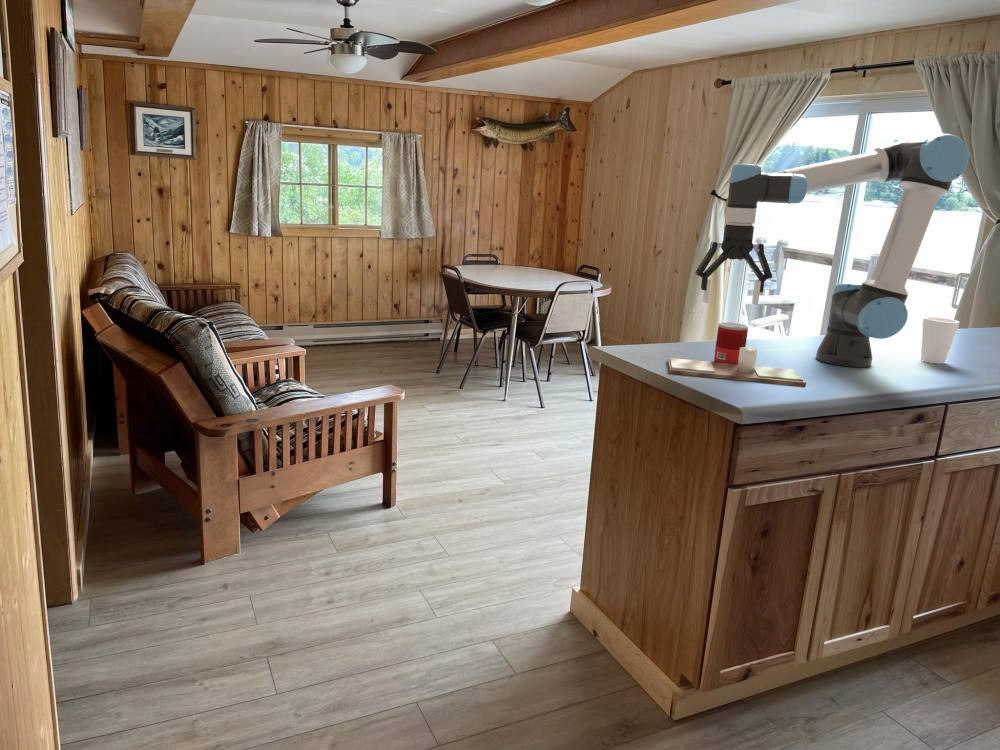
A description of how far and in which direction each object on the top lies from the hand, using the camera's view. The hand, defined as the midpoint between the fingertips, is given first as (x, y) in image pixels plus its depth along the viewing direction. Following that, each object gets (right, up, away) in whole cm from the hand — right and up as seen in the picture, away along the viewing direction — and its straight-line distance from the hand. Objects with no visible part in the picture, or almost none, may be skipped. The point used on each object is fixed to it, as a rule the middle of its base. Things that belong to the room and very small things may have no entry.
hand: (730, 303), depth 204 cm
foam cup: (+69, -16, +24) cm, 75 cm away
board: (-1, -19, -5) cm, 20 cm away
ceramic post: (+2, -20, -5) cm, 20 cm away
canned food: (+1, -17, +7) cm, 18 cm away
